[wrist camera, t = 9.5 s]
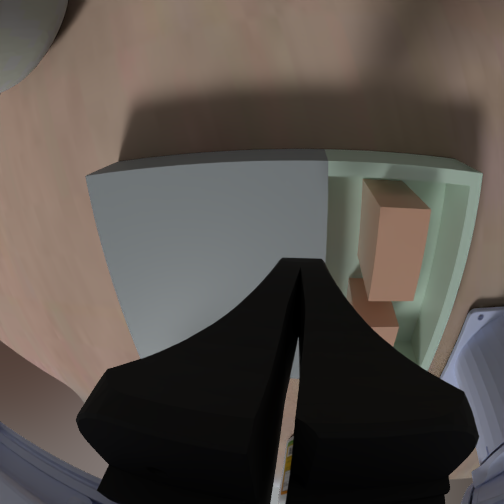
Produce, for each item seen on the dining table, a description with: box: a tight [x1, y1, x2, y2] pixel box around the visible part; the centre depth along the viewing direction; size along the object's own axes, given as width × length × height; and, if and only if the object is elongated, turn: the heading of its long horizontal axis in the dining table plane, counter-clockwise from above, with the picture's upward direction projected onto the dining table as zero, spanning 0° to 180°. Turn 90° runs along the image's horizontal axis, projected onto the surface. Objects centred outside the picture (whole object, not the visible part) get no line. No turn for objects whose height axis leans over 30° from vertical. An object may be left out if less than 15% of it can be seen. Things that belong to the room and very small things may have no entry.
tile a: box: [346, 278, 399, 346], centre depth 15 cm, size 4×4×2 cm
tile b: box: [357, 179, 431, 301], centre depth 13 cm, size 4×4×2 cm
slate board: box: [86, 149, 328, 379], centre depth 16 cm, size 11×12×3 cm
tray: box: [324, 149, 483, 371], centre depth 14 cm, size 7×12×3 cm, turn 4°
